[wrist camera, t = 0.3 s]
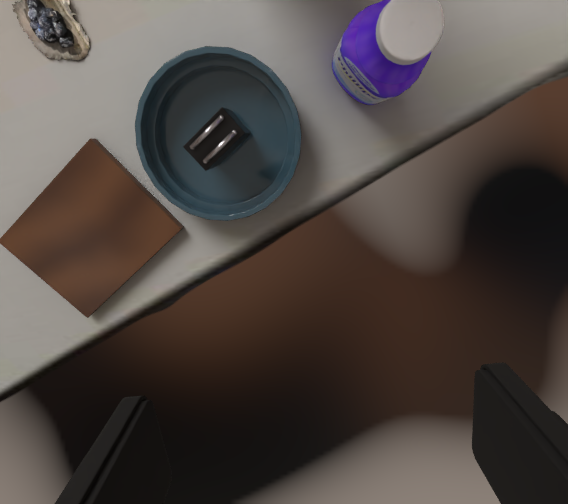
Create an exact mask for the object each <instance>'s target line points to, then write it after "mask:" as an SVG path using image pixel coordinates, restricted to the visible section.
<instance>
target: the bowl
mask: <svg viewBox="0 0 568 504" xmlns="http://www.w3.org/2000/svg"><path fill="white" fill-rule="evenodd" d="M221 107H224V108H226V109H229V110H231V111H232V112H233V113H234V114H235V115H236V116H237V117H238V118H239V120H240V121H241V122H242V123H243V124H244V125H245V126H246V127H247V129H248V130H249V131H250V132H251V134H250V135H249V136H248V137H247V138H246V139H245V140H244V141H243V142H241V143H240V144H239V145H238V146H237V147H236V148H235V149H234V150H233V151H232V152H231V153H230V154H229V155H228V156H227V157H226V158H225V159H224V160H223V161H222V162H221V163H220V164H219V165H218V166H216V167H214V168H212V169H209V170H207V171H205V170H204V169H203V168H202V167H201V165H200V164H199V163H198V162H197V161H196V160H195V159H194V158H193V157H192V156H191V155H190V154H189V153H188V152H187V151H186V150H185V149H184V147H183V146H184V145H185V144H186V143H187V142H188V141H189V140H190V139H191V138H192V137H193V136H194V135H195V134H196V133H197V132H198V131H199V130H200V129H201V128H202V127H203V126H204V125H205V124H206V123H207V122H208V121H209V120H210V119H211V118H212V117H213V115H214V114H215V113H216V112H217V111H218V110H219V109H220V108H221ZM135 132H136V146H137V149H138V152H139V156H140V159H141V162H142V165H143V167H144V170H145V171H146V173H147V174H148V176H149V178H150V179H151V181H152V183H153V184H154V186H155V187H156V188H157V189H158V190H159V191H160V192H161V193H162V194H163V195H164V196H165V197H166V198H167V199H168V200H169V201H170V202H171V203H172V204H174V205H176V206H177V207H179V208H181V209H182V210H184V211H185V212H187V213H189V214H192V215H195V216H198V217H202V218H205V219H208V220H225V221H228V220H234V219H239V218H244V217H248V216H251V215H252V214H254V213H256V212H258V211H260V210H262V209H264V208H266V207H267V206H269V205H270V204H271V203H272V202H273V201H274V200H275V199H276V198H277V197H279V196H280V195H281V193H282V192H283V191H284V189H285V188H286V186H287V185H288V183H289V182H290V180H291V178H292V177H293V175H294V172H295V169H296V166H297V163H298V160H299V157H300V146H301V128H300V123H299V117H298V112H297V108H296V106H295V104H294V102H293V100H292V98H291V96H290V93H289V91H288V89H287V88H286V86H285V85H284V84H283V83H282V81H281V80H280V79H279V78H278V77H277V75H276V74H275V73H274V72H273V71H272V70H271V69H270V68H269V67H267V66H266V65H265V64H263V63H262V62H260V61H259V60H258V59H256V58H255V57H253V56H252V55H249V54H246V53H244V52H241V51H238V50H235V49H232V48H229V47H212V46H205V47H201V48H197V49H193V50H189V51H185V52H183V53H181V54H179V55H178V56H176V57H174V58H173V59H171V60H169V61H168V62H166V63H165V64H164V65H163V66H162V67H161V68H160V69H159V70H158V71H157V72H156V73H155V75H154V76H153V77H152V78H151V79H150V81H149V82H148V84H147V86H146V88H145V90H144V92H143V94H142V96H141V98H140V100H139V105H138V110H137V115H136V120H135Z"/></svg>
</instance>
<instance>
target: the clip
mask: <svg viewBox="0 0 568 504" xmlns="http://www.w3.org/2000/svg"><path fill="white" fill-rule="evenodd" d="M250 134H251V132H250V131H249V130H248V129H247V127H246V126H245V125H244V124H243V123H242V122H241V121H240V120H239V118H238V117H237V116H236V115H235V114H234V113H233V112H232V111H231V110H229V109H226V108H224V107H221V108H220V109H219V110H218V111H217V112H216V113H215V114H214V115H213V117H212V118H211V119H210V120H209V121H208V122H207V123H206V124H205V125H204V126H203V127H202V128H201V129H200V130H199V131H198V132H197V133H196V134H195V135H194V136H193V137H192V138H191V139H190V140H189V141H188V142H187V143H186V144H185V145H184V146H183V147H184V149H185V150H186V151H187V152H188V153H189V154H190V155H191V156H192V157H193V158H194V159H195V160H196V161H197V162H198V163H199V164H200V165H201V167H202V168H203V169H204V170H205V171H207V170H209V169H212V168H214V167H216V166H218V165H219V164H220V163H221V162H222V161H223V160H224V159H225V158H226V157H227V156H228V155H229V154H230V153H231V152H232V151H233V150H234V149H235V148H236V147H237V146H238V145H239V144H240V143H241V142H243V141H244V140H245V139H246V138H247V137H248V136H249V135H250Z"/></svg>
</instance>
